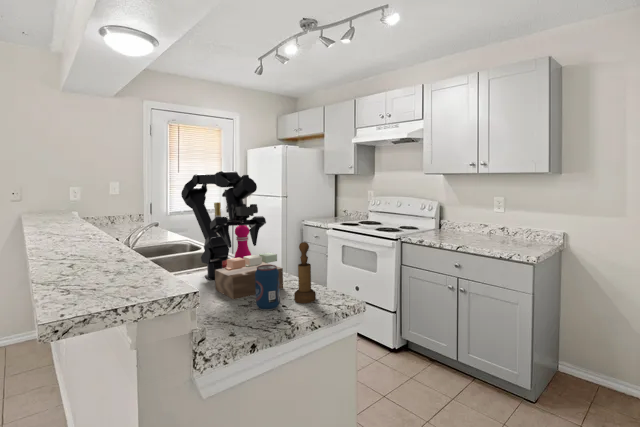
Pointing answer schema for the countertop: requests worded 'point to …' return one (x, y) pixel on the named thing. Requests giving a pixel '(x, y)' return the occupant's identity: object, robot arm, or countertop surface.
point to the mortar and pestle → (304, 278)
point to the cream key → (253, 260)
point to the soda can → (267, 287)
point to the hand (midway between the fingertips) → (242, 246)
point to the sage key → (268, 257)
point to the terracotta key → (236, 263)
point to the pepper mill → (242, 241)
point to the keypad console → (240, 281)
